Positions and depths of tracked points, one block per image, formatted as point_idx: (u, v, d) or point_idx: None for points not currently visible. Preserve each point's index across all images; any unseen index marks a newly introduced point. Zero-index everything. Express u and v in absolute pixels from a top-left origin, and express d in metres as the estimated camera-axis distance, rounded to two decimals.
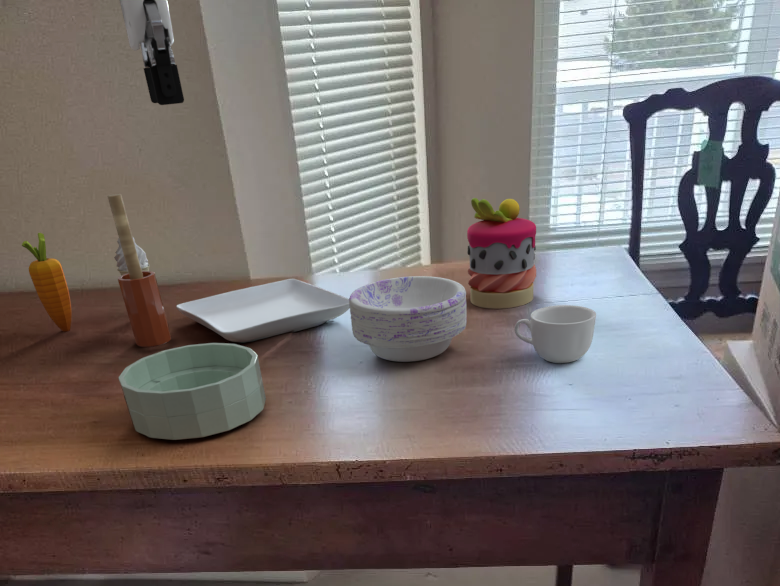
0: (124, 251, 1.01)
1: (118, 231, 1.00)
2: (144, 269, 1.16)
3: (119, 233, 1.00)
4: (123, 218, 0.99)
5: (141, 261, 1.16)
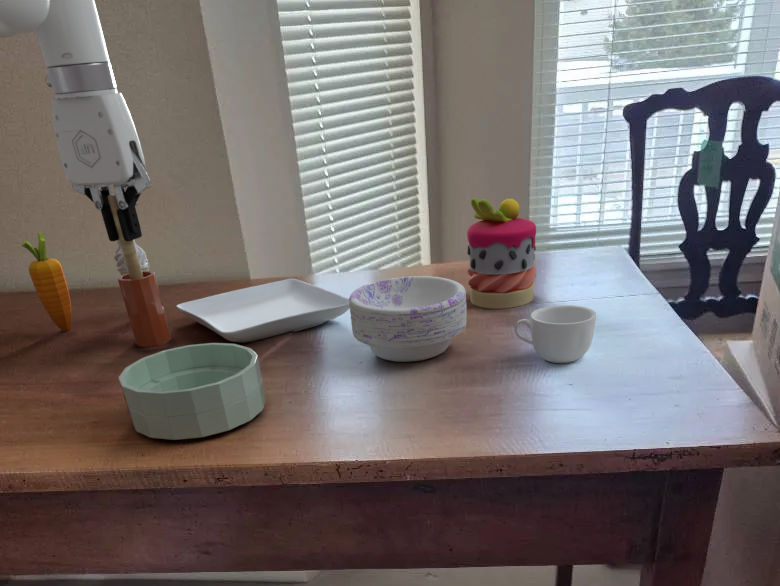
0: (124, 251, 1.01)
1: (118, 231, 1.00)
2: (144, 269, 1.16)
3: (119, 233, 1.00)
4: None
5: (141, 261, 1.16)
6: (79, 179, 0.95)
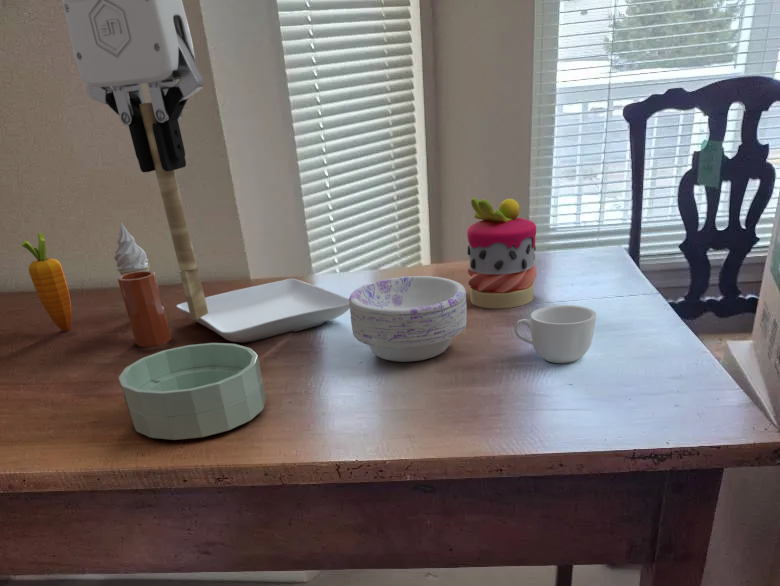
0: (162, 187, 0.71)
1: (154, 157, 0.70)
2: (144, 269, 1.16)
3: (155, 160, 0.70)
4: None
5: (141, 261, 1.16)
6: (99, 76, 0.65)
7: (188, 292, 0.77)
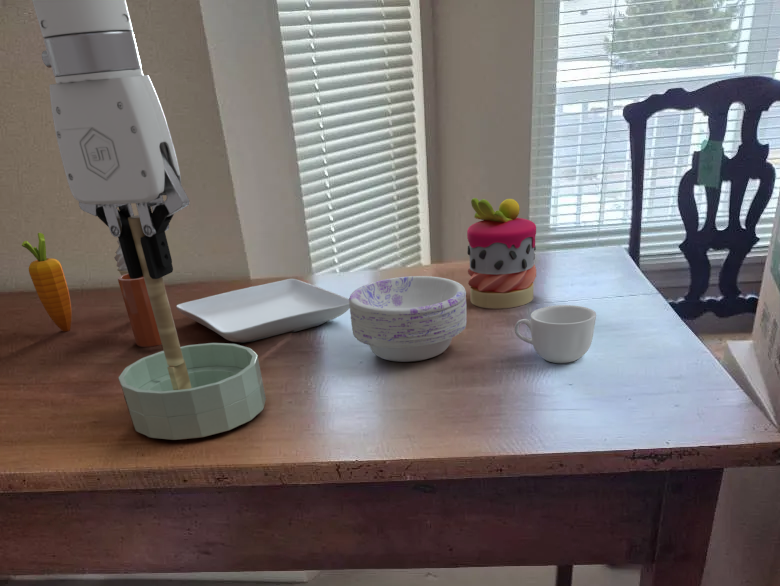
0: (150, 291, 0.75)
1: (142, 265, 0.73)
2: None
3: (143, 268, 0.73)
4: None
5: None
6: (89, 196, 0.69)
7: (175, 385, 0.80)
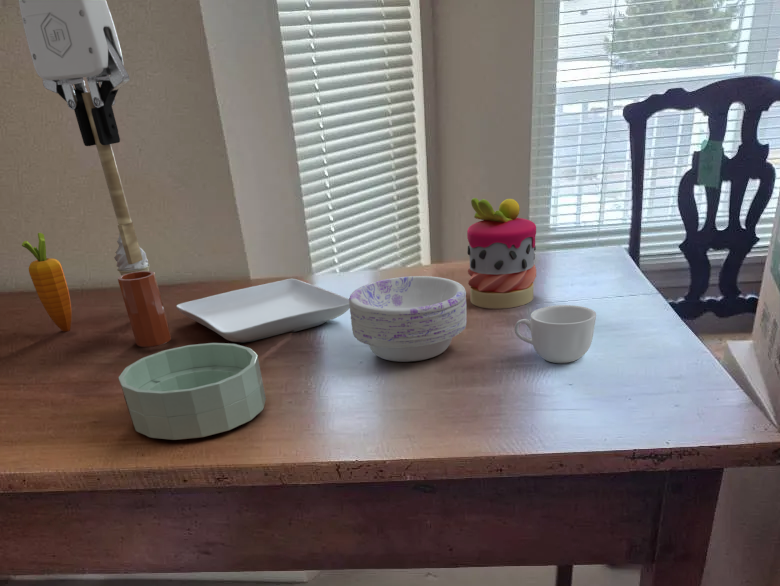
0: (101, 157, 0.93)
1: (94, 134, 0.91)
2: (144, 269, 1.16)
3: (95, 136, 0.91)
4: None
5: (141, 261, 1.16)
6: (49, 72, 0.86)
7: (124, 241, 0.98)
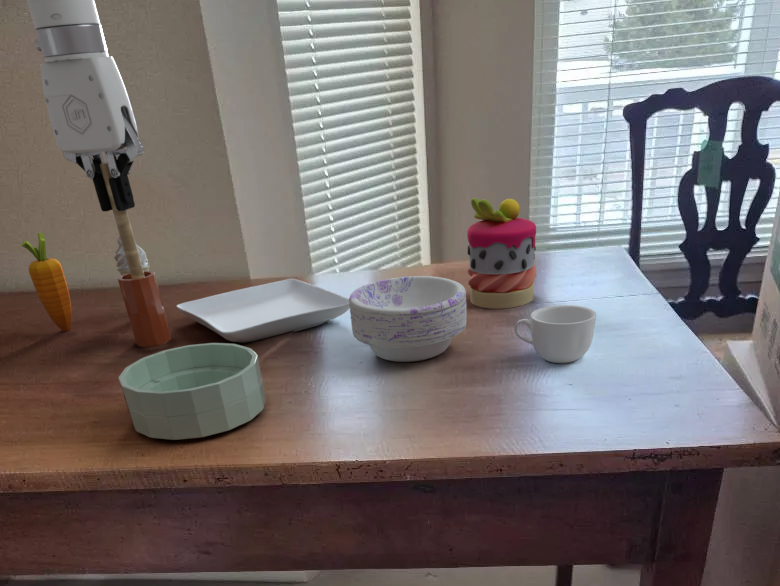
0: (117, 221, 0.99)
1: (111, 200, 0.98)
2: (144, 269, 1.16)
3: (112, 202, 0.98)
4: None
5: (141, 261, 1.16)
6: (70, 146, 0.93)
7: None
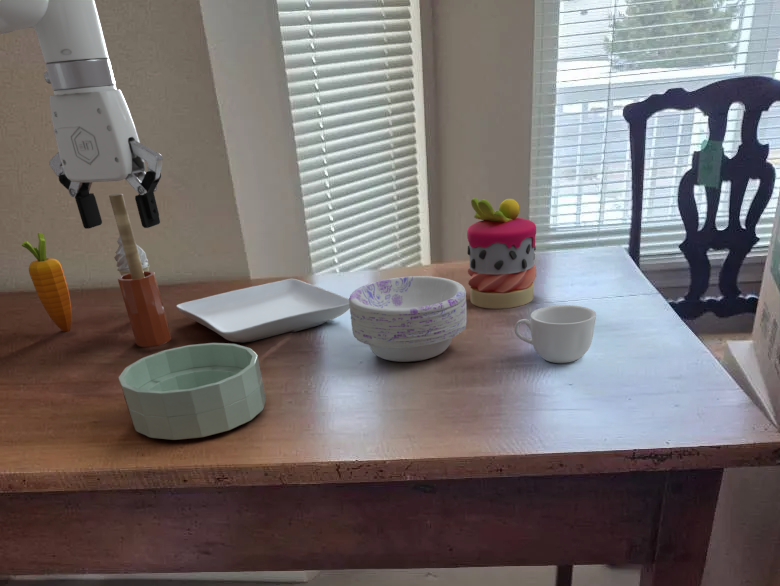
0: (125, 251, 1.01)
1: (120, 231, 1.00)
2: (144, 269, 1.16)
3: (121, 233, 1.00)
4: (125, 218, 0.99)
5: (141, 261, 1.16)
6: (78, 176, 0.95)
7: None
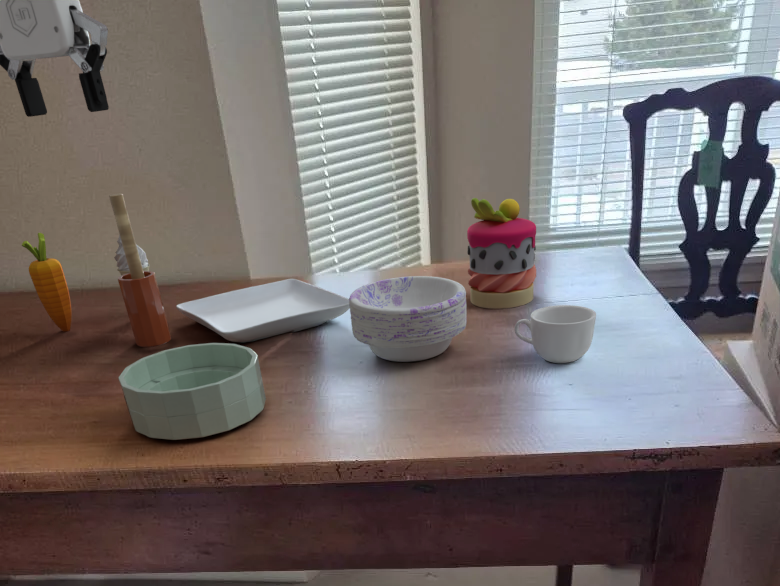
0: (125, 251, 1.01)
1: (120, 231, 1.00)
2: (144, 269, 1.16)
3: (121, 233, 1.00)
4: (125, 218, 0.99)
5: (141, 261, 1.16)
6: (16, 51, 0.86)
7: None
